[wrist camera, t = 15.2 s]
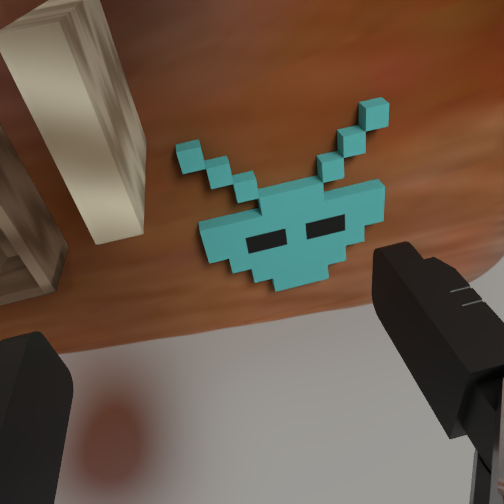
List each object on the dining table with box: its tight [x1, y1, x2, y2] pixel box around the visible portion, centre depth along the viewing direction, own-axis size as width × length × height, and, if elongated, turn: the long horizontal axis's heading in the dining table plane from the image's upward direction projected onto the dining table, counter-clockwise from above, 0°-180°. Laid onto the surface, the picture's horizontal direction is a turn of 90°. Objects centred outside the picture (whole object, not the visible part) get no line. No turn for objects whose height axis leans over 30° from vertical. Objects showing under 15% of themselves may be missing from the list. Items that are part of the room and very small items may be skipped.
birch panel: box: [0, 0, 147, 245], centre depth 28 cm, size 12×3×15 cm, turn 9°
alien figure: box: [176, 97, 389, 292], centre depth 45 cm, size 20×2×20 cm
